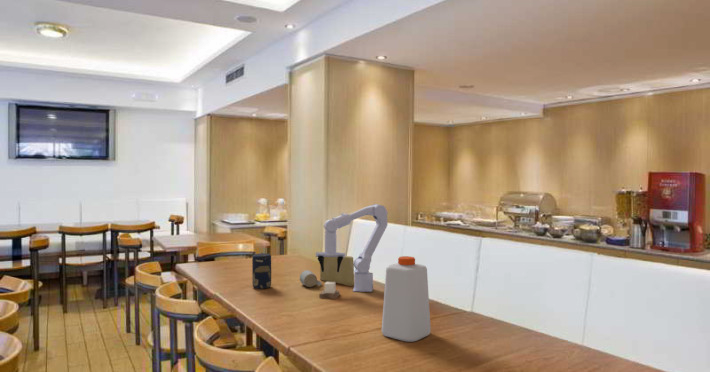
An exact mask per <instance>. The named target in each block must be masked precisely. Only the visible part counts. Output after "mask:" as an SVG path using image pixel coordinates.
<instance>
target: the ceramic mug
mask: <svg viewBox="0 0 710 372" xmlns="http://www.w3.org/2000/svg"><path fill="white" fill-rule="evenodd" d="M299 281H300V283H301V284H302V285H304V286H305V287H308V288H313V287H315V286H316V285H317V286H321V285H322V282H321V280H318V278H317V275H315V273H313V272H312V271H311V270H308V269H305V270H303V271H302V272H301V273H300V274H299Z"/></svg>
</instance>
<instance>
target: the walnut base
mask: <svg viewBox="0 0 710 372" xmlns="http://www.w3.org/2000/svg"><path fill="white" fill-rule="evenodd" d="M339 295H340V290H338V289H337V290H336V289H335V293H334V294H333V293H325V289H323V290H321V292H319V296H318V297H319V299H332V300H333V299H335V300H336V299H337V298H338V297H339Z"/></svg>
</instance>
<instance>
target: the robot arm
mask: <svg viewBox="0 0 710 372" xmlns="http://www.w3.org/2000/svg"><path fill="white" fill-rule="evenodd" d="M388 214H389V213H388V211H387V209H386V207H385V206H384V205H381V204H378V203H373V204H372V205H368V206H364V207H362V208H360V209H357V210H356V211H354V212H351V213H350V214H348V213H347V212H346V213H344V212H343V213H340V215H338V216H336V217H335V216H334V217H332V219H327V220H326V221H324V224H323V228H324V252H323V251H322V252H316V253H315V258H317V261H318V263H319V265H320V266H321V269H322V272H323V271H324V257H338V258H337V272H339V269H340V265H341V262H342V260H343V257H344V258H345V256H346V253H345V252H337V230H338V229H341V228H343V227H346V226H348V225H351V223H352V221H354V220H357V219H359V218H361V217H362V218H363V217H364V216H370V217H371V216H372V217H373V218H374V220H375V223H376V225H375V226H374V228H373V230H372V232H371V235H370V237H368V241H367V242H366V244H365V246H364V249H363V250H362V252H361V253H359V256H358V257H357V258H355V259H354V260H353V262H354V285H353V289H352V292H368V293H370V292H371V293H372V292H373V289H374V273H373V272H370V271H369V270H370V267H371V262H372V257H373V255H374V252H375V251H376V249H377V247H378V245H379V243H380V240H381V239H382V237H383V234H384V232H385V231H386V229H387V227H388ZM320 266H319V267H320Z"/></svg>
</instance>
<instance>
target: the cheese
mask: <svg viewBox="0 0 710 372" xmlns="http://www.w3.org/2000/svg"><path fill="white" fill-rule="evenodd" d="M337 258H338V257H324V271H323V272H322V269H321V266H319V268H320V269H319V272H320V273H319V275H320V276H319V279H320V280H319V281H325V282H335V284H340V285H345V286H347V287H348V286H349V287H354V271H355V267H354V257H353V256H349V255H345V258H344V257H343V260H342V262H341V265H340V269H339V272H337Z"/></svg>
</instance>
